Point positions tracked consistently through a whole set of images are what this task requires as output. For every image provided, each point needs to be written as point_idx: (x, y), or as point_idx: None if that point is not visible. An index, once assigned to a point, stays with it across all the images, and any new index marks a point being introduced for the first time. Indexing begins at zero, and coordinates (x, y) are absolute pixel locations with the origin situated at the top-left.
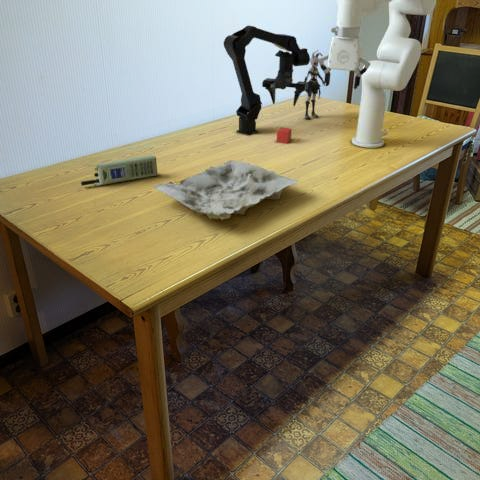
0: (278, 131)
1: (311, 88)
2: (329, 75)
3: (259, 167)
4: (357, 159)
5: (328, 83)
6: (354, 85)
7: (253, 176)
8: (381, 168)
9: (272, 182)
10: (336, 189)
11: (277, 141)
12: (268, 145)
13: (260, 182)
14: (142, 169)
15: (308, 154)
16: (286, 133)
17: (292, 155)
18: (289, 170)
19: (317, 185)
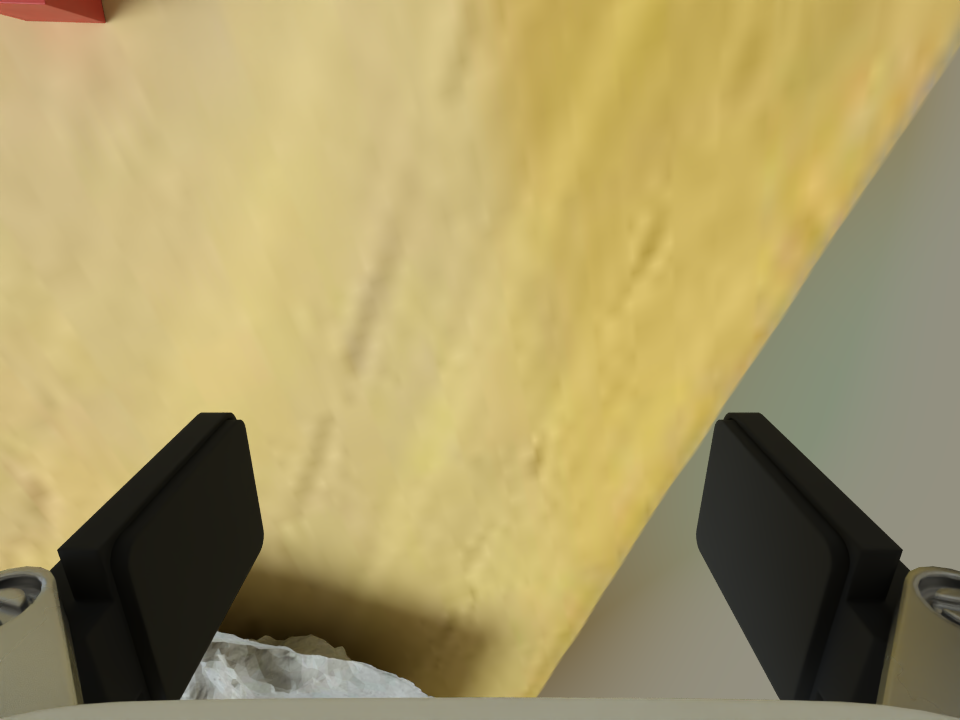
0: None
1: None
2: (170, 612)
3: (230, 636)
4: (610, 161)
5: (244, 517)
6: (718, 576)
7: (238, 648)
8: (747, 256)
9: (335, 691)
10: (557, 555)
11: (29, 19)
12: (24, 122)
13: (278, 640)
14: None
15: (318, 191)
16: (43, 6)
17: (242, 246)
18: (316, 448)
19: (478, 547)
